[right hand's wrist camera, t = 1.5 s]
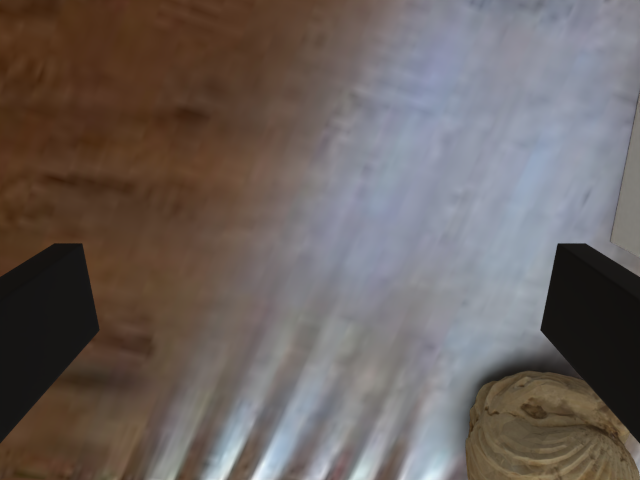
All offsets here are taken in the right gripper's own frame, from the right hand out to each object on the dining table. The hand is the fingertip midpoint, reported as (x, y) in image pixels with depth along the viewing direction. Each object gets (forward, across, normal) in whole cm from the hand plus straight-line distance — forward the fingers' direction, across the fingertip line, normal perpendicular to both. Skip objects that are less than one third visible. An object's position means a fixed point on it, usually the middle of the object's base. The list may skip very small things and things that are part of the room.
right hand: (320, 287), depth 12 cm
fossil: (+27, +22, -28) cm, 45 cm away
